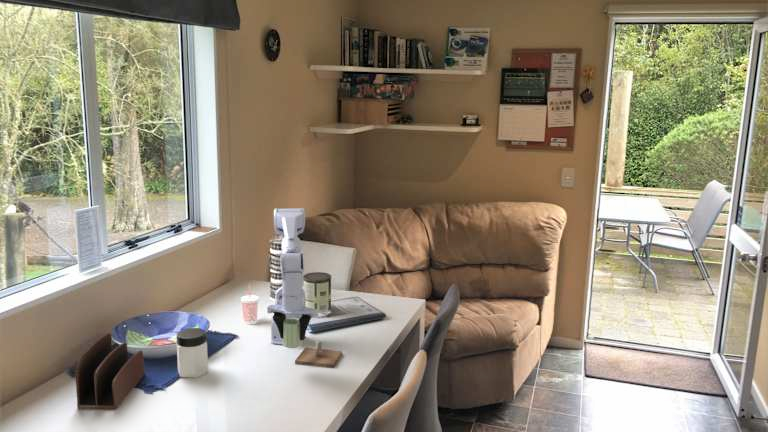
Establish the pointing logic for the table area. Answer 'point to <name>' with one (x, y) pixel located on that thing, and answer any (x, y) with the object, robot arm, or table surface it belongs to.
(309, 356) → the spool holder
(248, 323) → the beverage cup
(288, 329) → the green segmented tube
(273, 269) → the decorative candle
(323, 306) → the coffee can
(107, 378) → the letter holder
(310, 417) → the table surface
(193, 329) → the jar
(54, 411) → the table surface
